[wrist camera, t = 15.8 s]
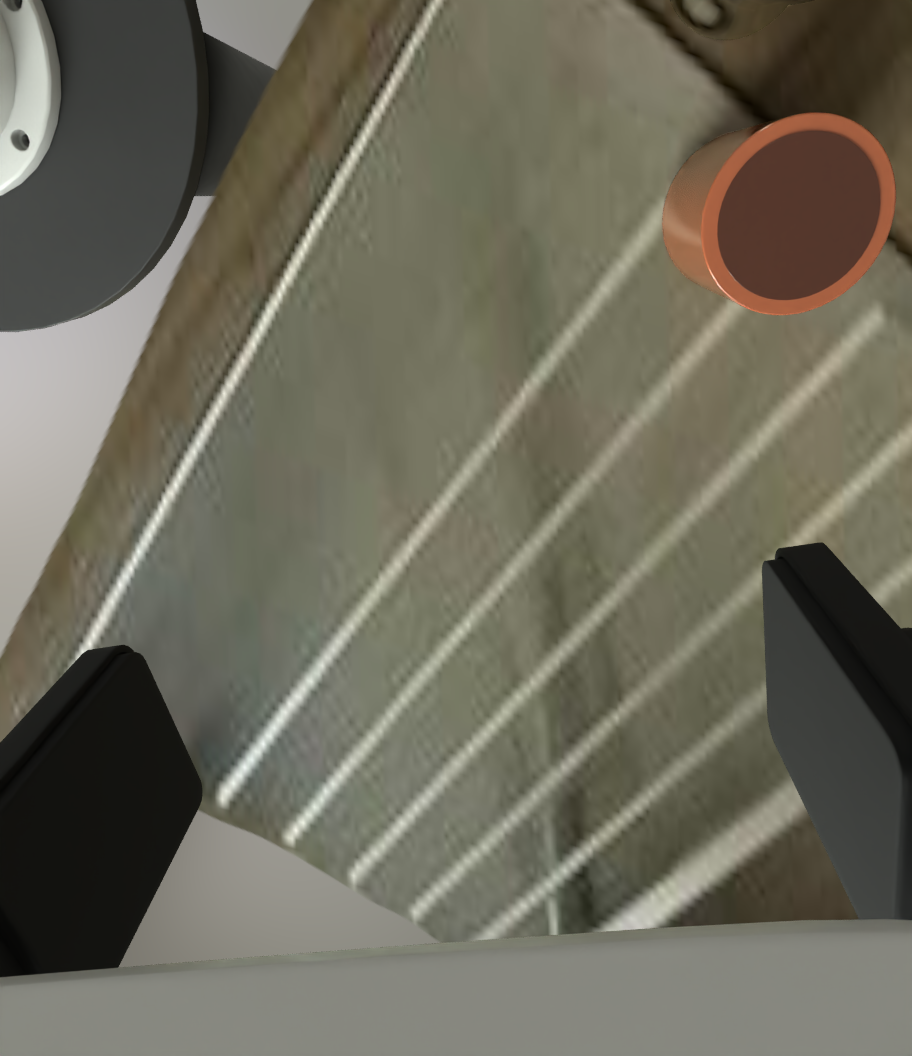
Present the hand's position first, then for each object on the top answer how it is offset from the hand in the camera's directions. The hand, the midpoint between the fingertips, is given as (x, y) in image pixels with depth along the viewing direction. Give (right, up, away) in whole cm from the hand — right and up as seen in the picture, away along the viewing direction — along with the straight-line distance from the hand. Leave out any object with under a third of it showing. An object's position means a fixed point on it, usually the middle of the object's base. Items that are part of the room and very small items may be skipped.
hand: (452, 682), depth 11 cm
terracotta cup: (+14, +18, +24) cm, 33 cm away
